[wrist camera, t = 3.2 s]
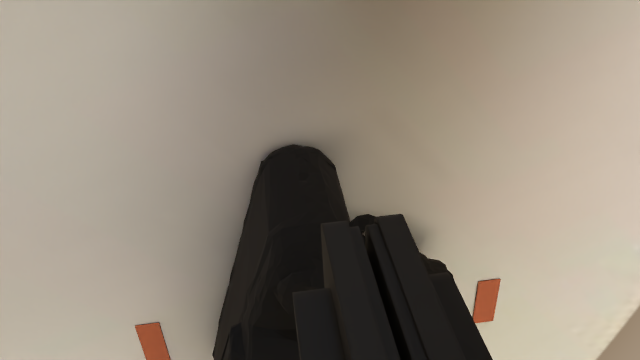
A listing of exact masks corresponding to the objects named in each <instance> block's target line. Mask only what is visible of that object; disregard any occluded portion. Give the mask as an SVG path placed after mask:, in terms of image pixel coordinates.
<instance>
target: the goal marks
mask: <svg viewBox="0 0 640 360" xmlns="http://www.w3.org/2000/svg"><path fill="white" fill-rule="evenodd" d="M499 285H500V279H495V280H487V281H479V282H478V288H477V294H476V301H475V307H474V314H473V320H474V323H480V322H487V321H493V318H494V313H495V307H496V302H497V296H498V291H499ZM135 328H136V331H137V334H138V337H139V340H140V342H141V345H142V348H143V351H144V354H145V357H146V360H170V357H169V354H168V350H167V347H166V344H165V341H164V337H163V334H162V331H161V327H160V324H159V323H152V324H145V325H137V326H135Z"/></svg>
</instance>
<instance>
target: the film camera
mask: <svg viewBox="0 0 640 360" xmlns="http://www.w3.org/2000/svg"><path fill="white" fill-rule="evenodd" d="M374 218H375V216H372V215H369V214H366V215H361V216H357V217H356V218H355V219H353V220H352V221H351V222H350V219H349V215H348V212H347V208H346V205H345V201H344V197H343V194H342V190H341V187H340V183H339V179H338V176H337V172H336V167H335V165H334V164H333V163H332V162H331V161H330V160H329V159H328V158H327V157H326V156H325V155H324V154H323V153H322V152H321V151H320V150H318V149H315V148H311V147H303V146H298V145H290V146H286V147H283V148H281V149H278V150H276V151H274V152H272V153H271V154H270V155H269V156H268V157H267V158H266V159H265V160H264V161H261V165H260V168H259V172H258V175H257V177H256V180H255V182H254V185H253V190H252V194H251V200H250V204H249V207H248V211H247V214H246V217H245V220H244V226H243V231H242V234H241V238H240V242H239V245H238V250H237V254H236V258H235V261H234V265H233V268H232V272H231V277H230V283H229V286H228V289H227V293H226V297H225V301H224V304H223V308H222V311H221V315H220V319H219V327H218V332H217V337H216V342H215V347H214V351H213V354H212V355H213V358H214V360H300V357H299V348H298V340H297V331H296V322H295V313H294V304H293V294H292V292H300V291H307V290H315V289H322V288H324V273H323V257H322V241H321V224H322V223H330V222H338V221H348V223H349V227H356V226H358V227H359V229H360V232H361V235H362V238H363V241H364V245H365V236H364V235H363V234H362V233H363V232H365V227H366V225H372V224H374ZM420 255H421V258H422V260H423V262H424V265H425V267H426V269H427V271H428V274H437V273H445V272H448V273H449V274H450V275H451V276H452V278H453V275H452V274H451V273H450V272H449V271H448V270H447V268H446V265H445V264H444V263H442V262H441V261H439V260H434V259H428V258H427V257H426V256H425V255H423V254H422V253H420ZM453 280H454V278H453Z"/></svg>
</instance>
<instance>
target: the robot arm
mask: <svg viewBox="0 0 640 360" xmlns="http://www.w3.org/2000/svg"><path fill="white" fill-rule="evenodd" d="M321 241H322V257H323V273H324V288H322V289H315V290H307V291H300V292H292V294H293V304H294V313H295V322H296V331H297V340H298V348H299V357H300V360H493V359H492V357H491V355H490V353H489V351H488V349H487V347H486V345H485V343H484V341H483V339H482V337H481V335H480V333H479V331H478V329H477V327H476V325H475V323H474V320H473V318H472V316H471V314H470V312H469V310H468V308H467V306H466V304H465V302H464V300H463V298H462V296H461V294H460V292H459V290H458V288H457V286H456V284H455V281H454V280H453V278H452V276H451V275H450V274H449V273H448V272H445V273H437V274H428V271H427V269H426V267H425V265H424V262H423V260H422V258H421V255H420V253H419V251H418V249H417V246H416V244H415V242H414V239H413V237H412V235H411V233H410V230H409V228H408V226H407V223H406V221H405V219H404V217H403V215H402V214H396V215H388V216H380V217H375V218H374V224H372V225H366V227H365V245H364V241H363V238H362V235H361V232H360V229H359V227H358V226H356V227H349V223H348V221H338V222H330V223H322V224H321Z"/></svg>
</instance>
